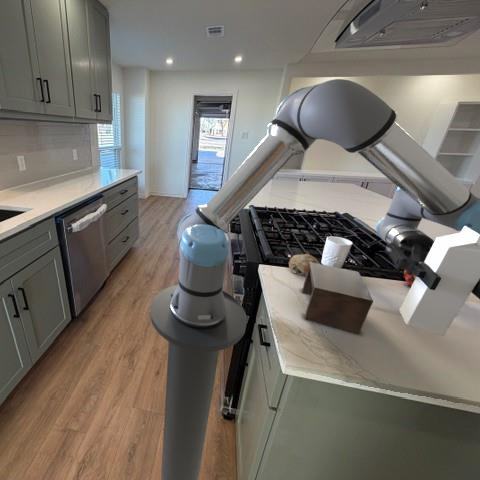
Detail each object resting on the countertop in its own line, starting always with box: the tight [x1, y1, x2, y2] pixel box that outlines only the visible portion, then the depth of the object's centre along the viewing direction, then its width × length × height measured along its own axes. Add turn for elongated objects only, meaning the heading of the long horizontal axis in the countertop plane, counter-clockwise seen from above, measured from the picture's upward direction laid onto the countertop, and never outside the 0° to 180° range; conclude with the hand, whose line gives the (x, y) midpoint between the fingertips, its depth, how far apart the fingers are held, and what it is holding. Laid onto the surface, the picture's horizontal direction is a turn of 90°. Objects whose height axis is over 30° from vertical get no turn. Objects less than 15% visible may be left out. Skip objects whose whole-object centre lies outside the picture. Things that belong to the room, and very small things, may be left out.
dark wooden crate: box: [301, 262, 374, 335], centre depth 69 cm, size 12×15×10 cm
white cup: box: [320, 235, 353, 268], centre depth 94 cm, size 8×8×10 cm
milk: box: [398, 226, 480, 337], centre depth 51 cm, size 6×6×22 cm
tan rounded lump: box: [288, 253, 321, 277], centre depth 90 cm, size 10×10×8 cm
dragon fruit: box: [403, 268, 417, 287], centre depth 82 cm, size 8×8×12 cm
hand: (460, 288), depth 47 cm, fingers closed on milk, 6 cm apart
